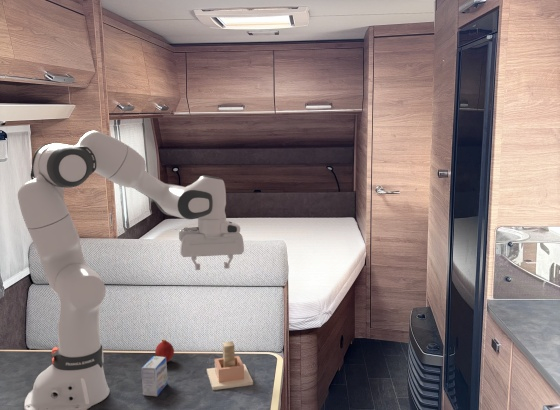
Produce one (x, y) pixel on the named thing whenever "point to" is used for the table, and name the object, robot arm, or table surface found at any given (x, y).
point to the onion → (165, 350)
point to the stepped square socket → (229, 375)
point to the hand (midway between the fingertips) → (212, 269)
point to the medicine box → (154, 376)
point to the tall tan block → (228, 354)
